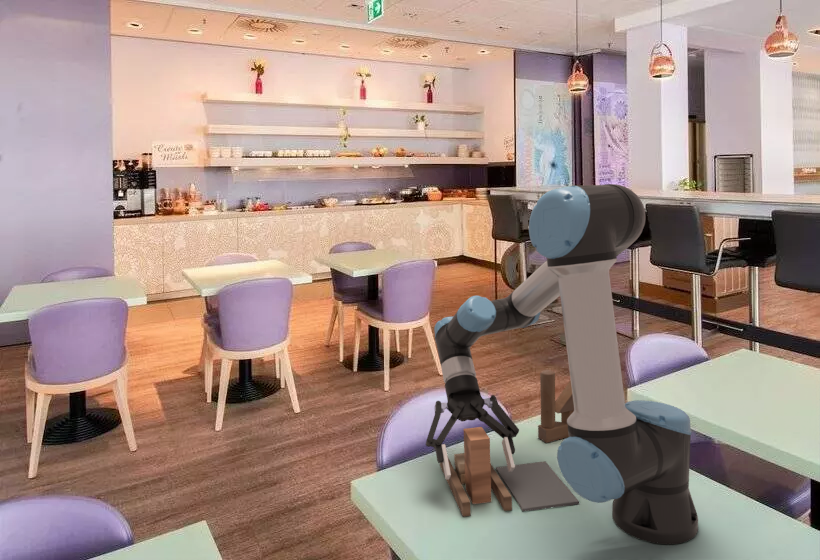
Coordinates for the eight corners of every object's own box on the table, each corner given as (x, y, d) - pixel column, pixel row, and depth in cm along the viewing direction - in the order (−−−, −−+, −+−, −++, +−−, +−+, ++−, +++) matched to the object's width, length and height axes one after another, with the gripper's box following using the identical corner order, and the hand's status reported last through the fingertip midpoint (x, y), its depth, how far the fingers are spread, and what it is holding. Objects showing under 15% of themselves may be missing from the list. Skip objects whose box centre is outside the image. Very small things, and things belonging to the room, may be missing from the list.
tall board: (491, 501, 122) (489, 438, 120) (472, 504, 121) (470, 440, 119) (483, 487, 128) (481, 426, 126) (465, 489, 127) (463, 428, 125)
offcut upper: (482, 471, 130) (482, 461, 130) (459, 474, 129) (459, 464, 129) (476, 461, 135) (476, 451, 135) (454, 464, 134) (454, 454, 134)
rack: (512, 510, 119) (511, 496, 118) (462, 516, 117) (462, 502, 117) (481, 460, 140) (481, 449, 140) (440, 465, 139) (439, 453, 138)
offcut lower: (483, 482, 131) (483, 472, 130) (461, 485, 130) (460, 475, 129) (477, 472, 135) (477, 461, 135) (455, 474, 135) (455, 464, 134)
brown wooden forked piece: (580, 435, 152) (580, 368, 149) (546, 443, 148) (545, 375, 145) (571, 429, 155) (571, 364, 152) (537, 438, 151) (536, 371, 148)
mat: (579, 504, 120) (579, 501, 120) (522, 511, 118) (522, 508, 118) (545, 463, 137) (545, 461, 137) (495, 469, 135) (495, 467, 135)
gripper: (509, 382, 139) (533, 472, 126) (405, 393, 135) (419, 486, 123) (516, 367, 133) (542, 460, 120) (407, 378, 129) (422, 474, 117)
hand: (480, 473), depth 121 cm, fingers open, 13 cm apart
